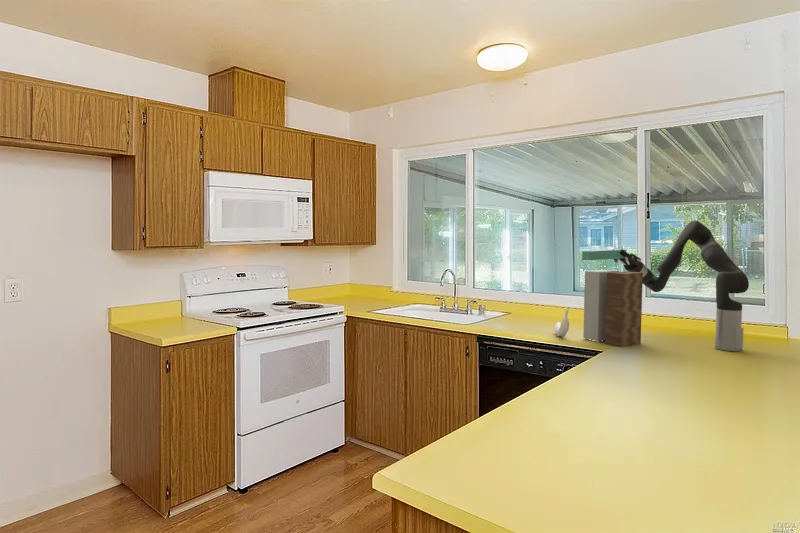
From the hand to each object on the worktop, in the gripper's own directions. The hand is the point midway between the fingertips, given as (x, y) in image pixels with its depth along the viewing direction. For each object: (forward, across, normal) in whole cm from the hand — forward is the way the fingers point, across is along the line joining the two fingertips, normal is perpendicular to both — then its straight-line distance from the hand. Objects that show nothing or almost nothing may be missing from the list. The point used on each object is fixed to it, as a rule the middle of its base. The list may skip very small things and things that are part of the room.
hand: (616, 251), depth 249 cm
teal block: (+6, 0, -7) cm, 9 cm away
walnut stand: (-12, -12, -41) cm, 44 cm away
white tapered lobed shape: (-2, +14, -46) cm, 48 cm away
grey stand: (-11, 0, -41) cm, 42 cm away
